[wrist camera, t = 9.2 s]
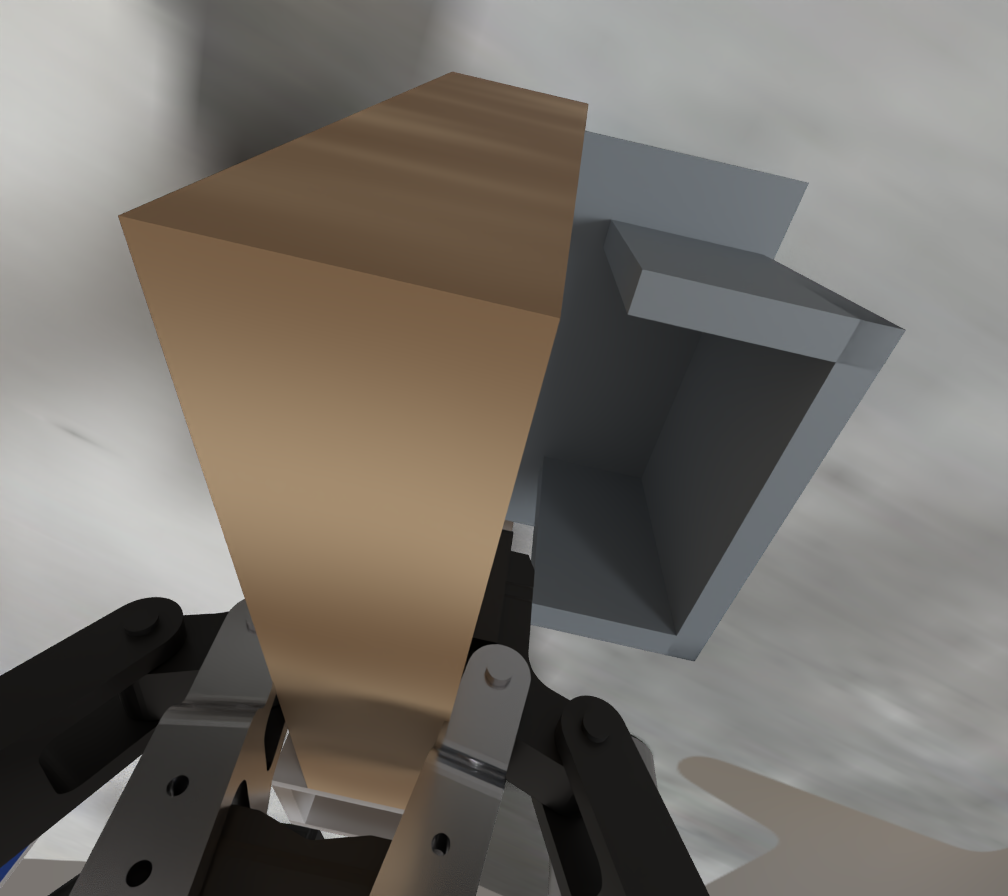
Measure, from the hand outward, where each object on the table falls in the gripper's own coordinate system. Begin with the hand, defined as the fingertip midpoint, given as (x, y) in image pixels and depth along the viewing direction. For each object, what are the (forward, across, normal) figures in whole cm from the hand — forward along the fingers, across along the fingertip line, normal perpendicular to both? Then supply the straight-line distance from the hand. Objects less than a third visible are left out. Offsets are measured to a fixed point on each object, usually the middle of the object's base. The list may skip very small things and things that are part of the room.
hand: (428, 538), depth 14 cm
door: (+5, 0, -1) cm, 5 cm away
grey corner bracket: (+16, -4, 0) cm, 17 cm away
